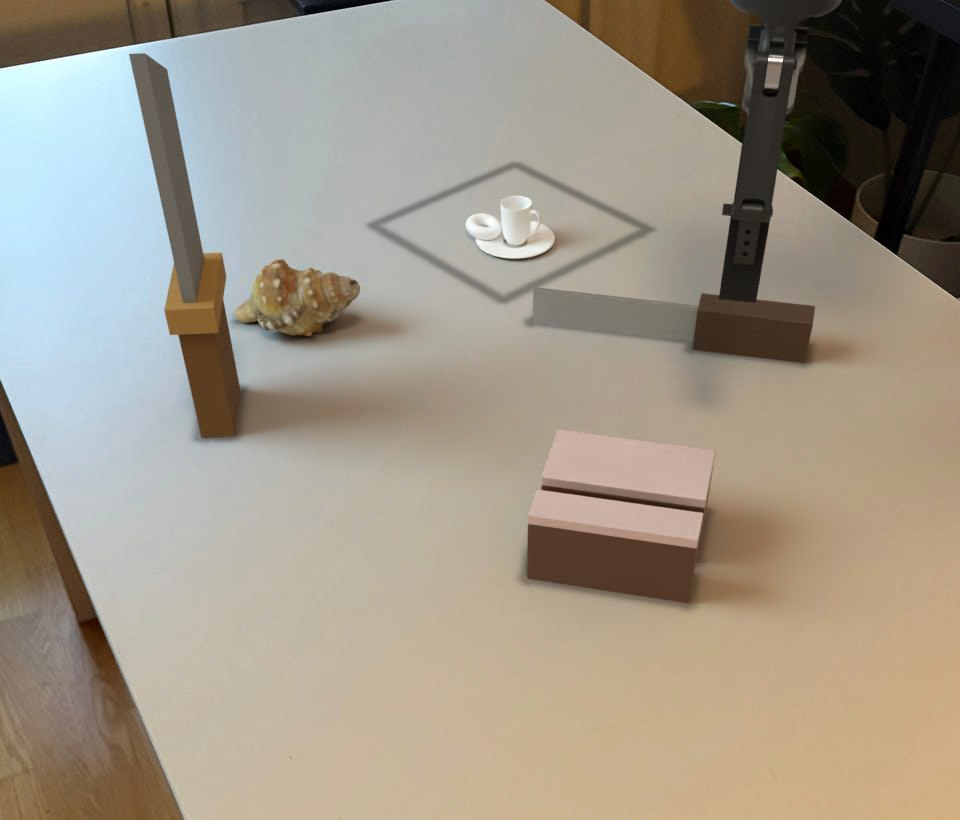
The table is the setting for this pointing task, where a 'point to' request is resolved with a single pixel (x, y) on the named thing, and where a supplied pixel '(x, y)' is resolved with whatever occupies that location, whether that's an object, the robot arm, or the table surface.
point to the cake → (630, 471)
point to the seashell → (296, 299)
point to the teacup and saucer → (511, 230)
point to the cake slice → (612, 545)
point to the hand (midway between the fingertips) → (743, 252)
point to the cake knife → (687, 321)
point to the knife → (189, 263)
